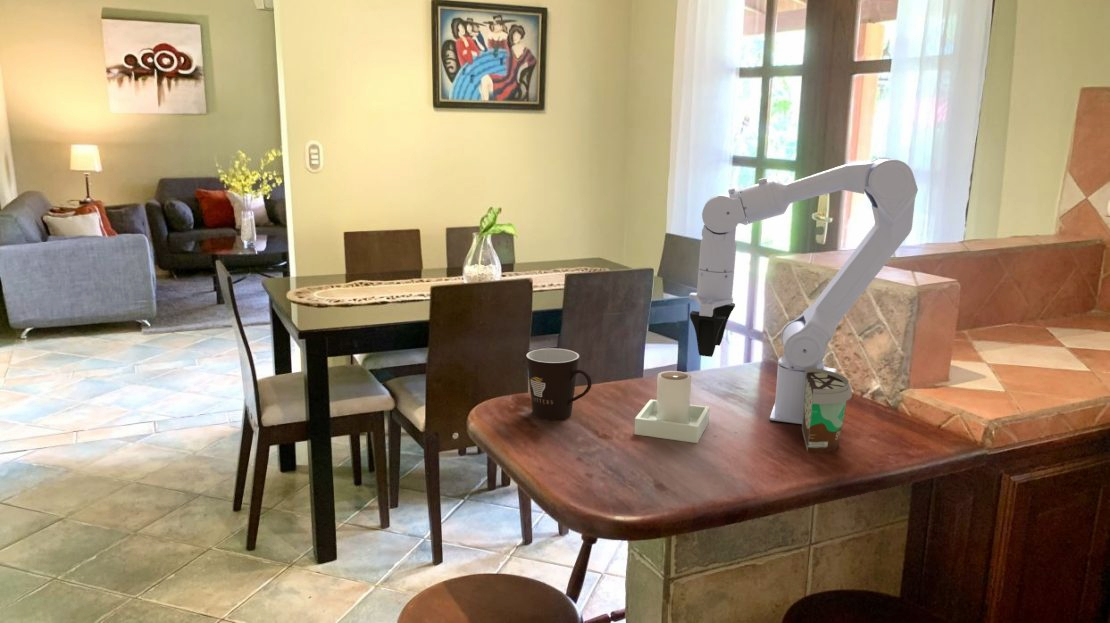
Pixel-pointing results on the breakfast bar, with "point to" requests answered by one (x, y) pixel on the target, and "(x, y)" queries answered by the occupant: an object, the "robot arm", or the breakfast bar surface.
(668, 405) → the cup
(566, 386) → the coffee mug
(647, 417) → the tray
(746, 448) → the breakfast bar surface
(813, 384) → the food container
